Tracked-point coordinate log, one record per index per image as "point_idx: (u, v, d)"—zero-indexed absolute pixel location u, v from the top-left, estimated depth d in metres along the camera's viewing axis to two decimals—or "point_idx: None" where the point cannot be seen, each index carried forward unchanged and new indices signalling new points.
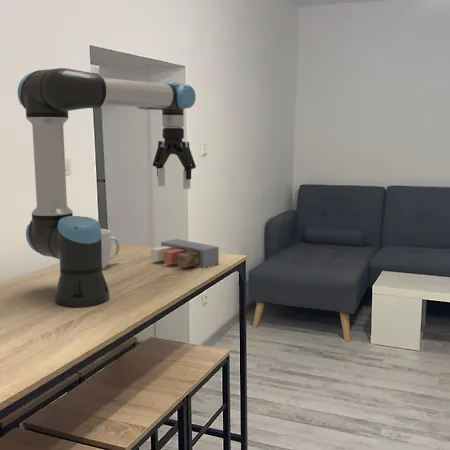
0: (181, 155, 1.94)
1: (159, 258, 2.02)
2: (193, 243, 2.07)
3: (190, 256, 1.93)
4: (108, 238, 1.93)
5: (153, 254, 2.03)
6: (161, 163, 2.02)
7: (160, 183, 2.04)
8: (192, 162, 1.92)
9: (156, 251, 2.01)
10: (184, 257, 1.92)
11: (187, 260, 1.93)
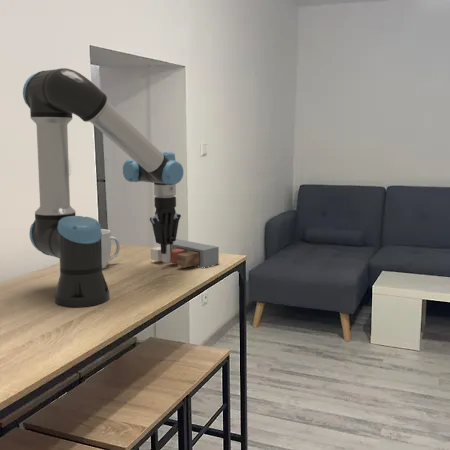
0: (160, 228, 1.94)
1: (159, 258, 2.02)
2: (193, 243, 2.07)
3: (190, 256, 1.93)
4: (108, 238, 1.93)
5: (153, 254, 2.03)
6: None
7: None
8: (157, 239, 1.93)
9: (156, 251, 2.01)
10: (184, 257, 1.92)
11: (187, 260, 1.93)
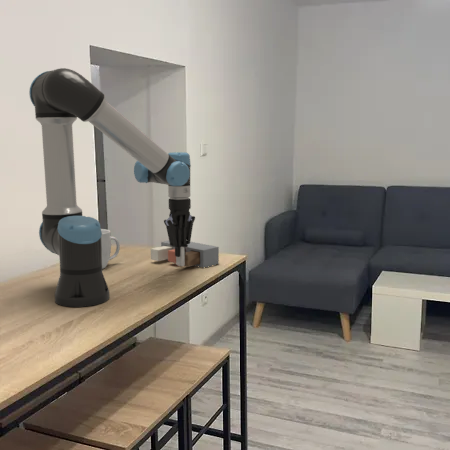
0: (174, 230, 1.90)
1: (159, 258, 2.02)
2: (193, 243, 2.07)
3: (192, 255, 1.94)
4: (108, 238, 1.93)
5: (153, 254, 2.03)
6: None
7: None
8: (172, 241, 1.88)
9: (156, 251, 2.01)
10: (186, 256, 1.93)
11: (189, 259, 1.93)
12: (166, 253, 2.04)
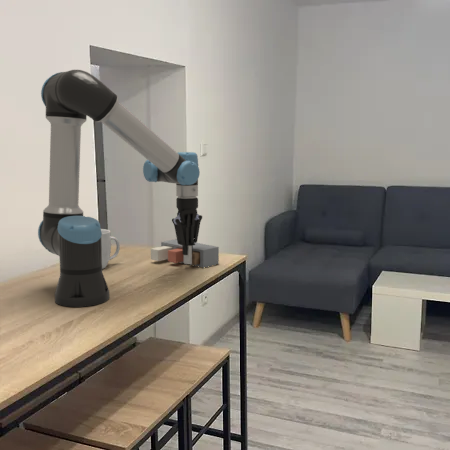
0: (182, 229, 1.93)
1: (159, 258, 2.02)
2: None
3: (199, 254, 1.97)
4: (108, 238, 1.93)
5: (153, 254, 2.03)
6: None
7: None
8: (179, 240, 1.91)
9: (156, 251, 2.01)
10: (194, 255, 1.95)
11: (196, 258, 1.96)
12: (166, 253, 2.04)
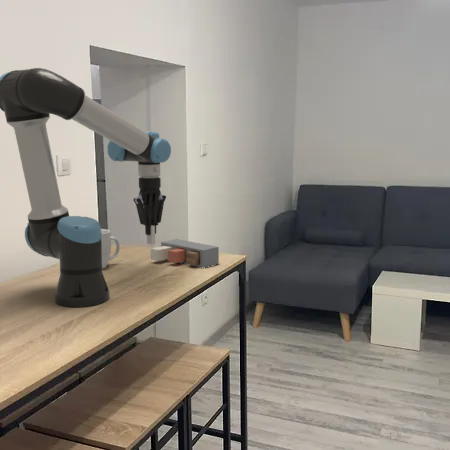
0: (145, 209, 1.92)
1: (159, 258, 2.02)
2: (193, 243, 2.07)
3: (199, 254, 1.97)
4: (108, 238, 1.93)
5: (153, 254, 2.03)
6: (151, 217, 1.95)
7: None
8: (141, 219, 1.91)
9: (156, 251, 2.01)
10: (193, 255, 1.95)
11: (196, 258, 1.96)
12: (166, 253, 2.04)
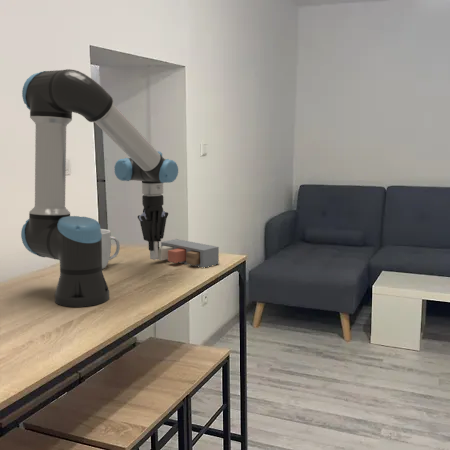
0: (148, 225, 1.99)
1: (162, 257, 2.03)
2: (193, 243, 2.07)
3: (199, 254, 1.97)
4: (108, 238, 1.93)
5: None
6: (154, 233, 2.02)
7: None
8: (145, 236, 1.98)
9: (159, 250, 2.02)
10: (193, 255, 1.95)
11: (196, 258, 1.96)
12: None
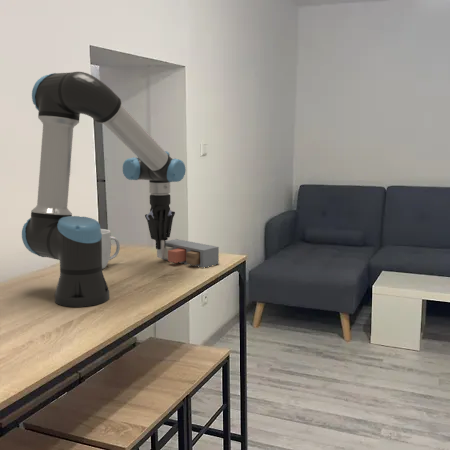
0: (155, 224, 2.02)
1: None
2: (193, 243, 2.07)
3: (199, 254, 1.97)
4: (108, 238, 1.93)
5: None
6: (160, 232, 2.04)
7: None
8: (152, 235, 2.00)
9: (166, 249, 2.05)
10: (193, 255, 1.95)
11: (196, 258, 1.96)
12: None
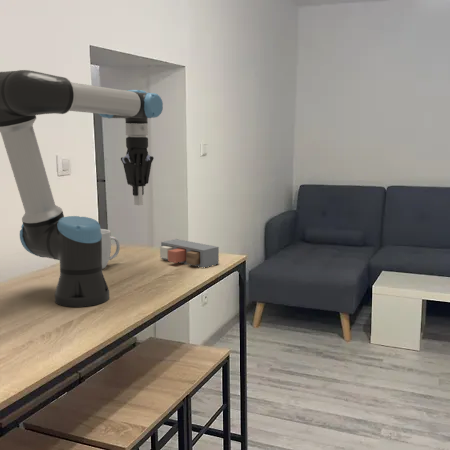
0: (132, 169, 1.91)
1: None
2: (193, 243, 2.07)
3: (199, 254, 1.97)
4: (108, 238, 1.93)
5: (162, 252, 2.06)
6: None
7: None
8: (129, 179, 1.89)
9: (165, 249, 2.05)
10: (193, 255, 1.95)
11: (196, 258, 1.96)
12: None
